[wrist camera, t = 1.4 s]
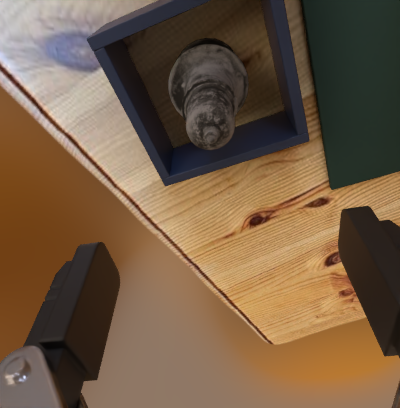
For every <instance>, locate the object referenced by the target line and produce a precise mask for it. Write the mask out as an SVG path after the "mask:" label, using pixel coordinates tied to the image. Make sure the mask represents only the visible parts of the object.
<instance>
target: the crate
mask: <svg viewBox="0 0 400 408" xmlns="http://www.w3.org/2000/svg"><path fill="white" fill-rule="evenodd" d="M208 1H211V0H158V1H156V2H154V3H152V4H149V5H147V6H145V7H143V8H140V9H138V10H136V11H134V12H132V13H129V14H127V15H125V16H123V17H120V18H118V19H116V20H114V21H112V22H109V23H107V24H105V25H104V26H102V27H101V28H100V29H99V30H97V31H96V32H95V33H93V34H92V35H91V36H89V37H88V38H87V41H88V43H89V45H90V46H91V48H92V50H93V51H94V53H95V55H96V57H97V59H98V61H99V63H100V65H101V67H102V69H103V70H104V72H105V74H106V76H107V78H108V80H109V82H110V84H111V85H112V87H113V89H114V91H115V93H116V95H117V97H118V99H119V100H120V102H121V104H122V106H123V108H124V110H125V112H126V114H127V115H128V117H129V119H130V121H131V123H132V125H133V127H134V129H135V131H136V132H137V134H138V136H139V138H140V140H141V142H142V144H143V146H144V147H145V149H146V151H147V153H148V155H149V157H150V159H151V161H152V162H153V164H154V166H155V168H156V170H157V172H158V174H159V176H160V177H161V179H162V181H163V183H164V185H165V186H168V185H171V184H174V183H178V182H181V181H184V180H187V179H190V178H194V177H197V176H200V175H203V174H206V173H209V172H213V171H216V170H219V169H222V168H225V167H229V166H232V165H235V164H238V163H241V162H245V161H248V160H251V159H254V158H257V157H260V156H264V155H267V154H270V153H273V152H276V151H280V150H283V149H286V148H289V147H292V146H296V145H299V144H302V143H305V142H308V141H309V134H308V129H307V123H306V118H305V113H304V107H303V102H302V96H301V91H300V85H299V80H298V74H297V69H296V63H295V58H294V53H293V47H292V42H291V36H290V31H289V25H288V20H287V14H286V9H285V4H284V0H260V2H261V7H262V11H263V16H264V20H265V25H266V30H267V34H268V39H269V43H270V48H271V52H272V57H273V61H274V66H275V70H276V75H277V79H278V84H279V88H280V93H281V97H282V102H283V106H284V110H285V111H282V112H279V113H276V114H273V115H270V116H267V117H264V118H261V119H258V120H255V121H252V122H249V123H246V124H243V125H240V126H237V127H235V130H234V133H233V135H232V138H231V139H230V140H229V142H228V143H226V144H225V145H224V146H222V147H220V148H218V149H213V150H205V149H202V148H199V147H197V146H196V145H194V144H193V143H192V142H190V143H187V144H184V145H181V146H179V147H176V148H173V145H172V143H171V141H170V139H169V137H168V135H167V133H166V130H165V128H164V126H163V124H162V122H161V120H160V118H159V116H158V114H157V111H156V109H155V107H154V105H153V103H152V101H151V99H150V97H149V94H148V92H147V90H146V88H145V86H144V84H143V82H142V80H141V77H140V75H139V73H138V71H137V69H136V67H135V65H134V63H133V61H132V58H131V56H130V54H129V52H128V50H127V48H126V46H125V44H124V41H123V38H125V37H128V36H130V35H132V34H135V33H137V32H139V31H142V30H144V29H146V28H148V27H151V26H153V25H155V24H158V23H160V22H162V21H165V20H167V19H169V18H172V17H174V16H176V15H178V14H181V13H183V12H185V11H188V10H190V9H192V8H195V7H197V6H199V5H202V4H204V3H206V2H208Z"/></svg>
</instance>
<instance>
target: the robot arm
mask: <svg viewBox="0 0 400 408" xmlns="http://www.w3.org/2000/svg"><path fill="white" fill-rule="evenodd" d="M338 249H339V255H340V258H341V261H342V264H343V266H344V268H345V270H346V272H347V275H348V277H349V279H350V281H351V283H352V286H353V288H354V290H355V292H356V294H357V297H358V299H359V301H360V303H361V305H362V308H363V310H364V312H365V314H366V316H367V319H368V321H369V323H370V325H371V327H372V330H373V332H374V334H375V336H376V339H377V341H378V343H379V345H380V347H381V349H382V352H383V354H384V356H394V355H398V356H399V358H400V227H399V226H398V225H396V224H395V223H393V222H392V221H390V220H384V221H379V220H378V218H377V217H376V215H375V213H374V212H373V210H372V209H371V208H370V207H369V206H363V207H356V208H349V209H343V210H342V212H341V219H340V229H339V239H338ZM119 288H120V276H119V272H118V269H117V267H116V265H115V263H114V261H113V259H112V258H111V256H110V254H109V252H108V250H107V248H106V246H105V244H104V243H103V242H97V243H90V244H83V245H80V246H79V247H78V248H77V250H76V253H75V255H74V257H73V260H72V261H68V262H66V263H65V264H64V265H63V267H62V268H61V269H60V270H59V271H58V272H57V273H56V275H55V277H54V280H53V282H52V284H51V286H50V290H49V291H48V293H47V295H46V297H45V301H44V302H43V304H42V306H41V308H40V311H39V313H38V315H37V317H36V320H35V322H34V324H33V326H32V329H31V331H30V333H29V335H28V337H27V340H26V342H25V344H24V346H23V347H21V348H19V349H17V350H15V351H13V352H12V353H10V354H9V355H8V356H7V357H5V358H4V359H3V360H2V362H1V363H0V408H88V406H87V404H86V402H85V400H84V397H83V395H82V393H81V389H82V386H83V382H84V381H90V380H97V378H98V374H99V370H100V366H101V362H102V358H103V354H104V349H105V345H106V341H107V337H108V333H109V329H110V325H111V320H112V316H113V312H114V308H115V304H116V300H117V296H118V292H119ZM392 408H400V381H399V384H398V388H397V391H396V395H395V398H394V402H393V406H392Z"/></svg>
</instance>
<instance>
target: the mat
mask: <svg viewBox="0 0 400 408" xmlns="http://www.w3.org/2000/svg"><path fill="white" fill-rule="evenodd" d="M301 5H302V11H303V17H304V24H305V30H306V37H307V43H308V49H309V56H310V62H311V69H312V75H313V81H314V88H315V94H316V101H317V107H318V113H319V120H320V126H321V133H322V139H323V145H324V152H325V158H326V165H327V171H328V177H329V184H330V188H331V190H334V189H337V188H341V187H345V186H348V185H352V184H355V183H359V182H363V181H366V180H370V179H373V178H377V177H381V176H384V175H388V174H391V173H395V172H399V171H400V0H301Z"/></svg>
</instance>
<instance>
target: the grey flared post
mask: <svg viewBox="0 0 400 408" xmlns="http://www.w3.org/2000/svg"><path fill="white" fill-rule="evenodd" d="M248 87H249V83H248V74H247V72H246V69H245V67H244V64H243V63H242V62H241V60H240V59H239V58H238V56H237V55H236V54H235V53H234V52H233V50H232V49H231V48H230V47H229V46H228V45H227V44H225V43H224V42H222V41H219V40H217V39H211V38H204V39H200V40H196V41H194V42H192V43H191V44H189V45H188V46H187V47H186V48H185V49H184V50H183V51H182V52H181V54H180V56H179V58H178V59H177V61H176V62H175V64H174V66H173V67H172V69H171V73H170V76H169V80H168V91H169V95H170V99H171V102H172V104H173V105H174V107H175V109H176V110H177V111H178V112H179V113H180V114H181V116H182V117H183V118H184V120H185V122H186V131H187V135H188V137H189V138H190V140H191V142H192V143H193V144H194V145H196V146H197V147H199V148H202V149H205V150H213V149H218V148H220V147H222V146H224V145H225V144H226V143H228V142H229V140H230V139H231V138H232V135H233V133H234V130H235V116H236V114H237V113H238V111H239V110H240V109H241V107H242V106H243V104H244V102H245V100H246V97H247V94H248Z"/></svg>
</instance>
